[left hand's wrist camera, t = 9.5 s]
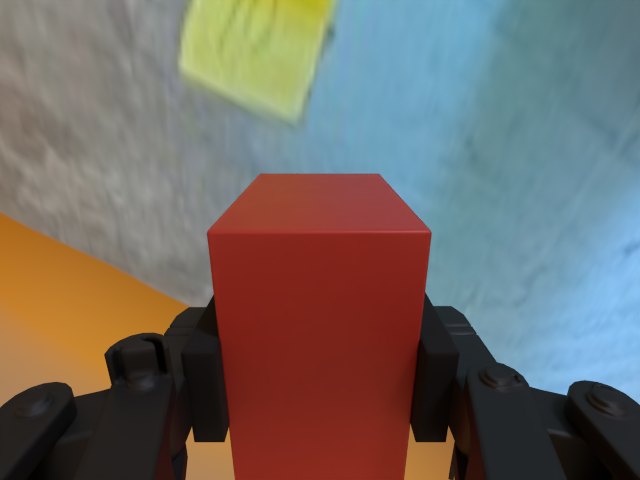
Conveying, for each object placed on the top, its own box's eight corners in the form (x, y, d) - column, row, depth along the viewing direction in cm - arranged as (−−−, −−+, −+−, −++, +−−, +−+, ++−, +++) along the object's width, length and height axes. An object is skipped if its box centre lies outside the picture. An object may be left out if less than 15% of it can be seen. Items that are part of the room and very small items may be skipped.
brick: (269, 344, 17) (236, 497, 10) (259, 173, 15) (205, 230, 8) (370, 344, 17) (402, 497, 10) (379, 173, 15) (433, 230, 8)
